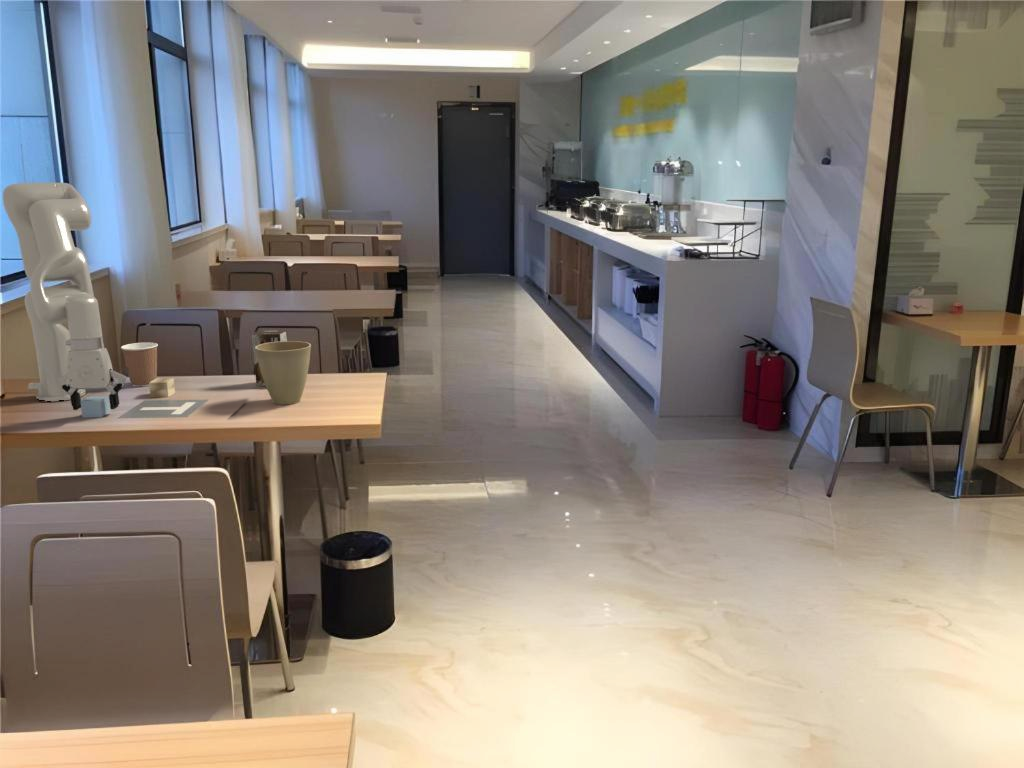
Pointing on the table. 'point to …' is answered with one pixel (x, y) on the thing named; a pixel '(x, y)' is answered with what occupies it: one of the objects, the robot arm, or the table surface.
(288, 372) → the plant pot
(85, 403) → the blue cube
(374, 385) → the table surface
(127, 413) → the letter board
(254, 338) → the coffee box
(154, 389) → the wood block
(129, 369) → the coffee cup
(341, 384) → the table surface
